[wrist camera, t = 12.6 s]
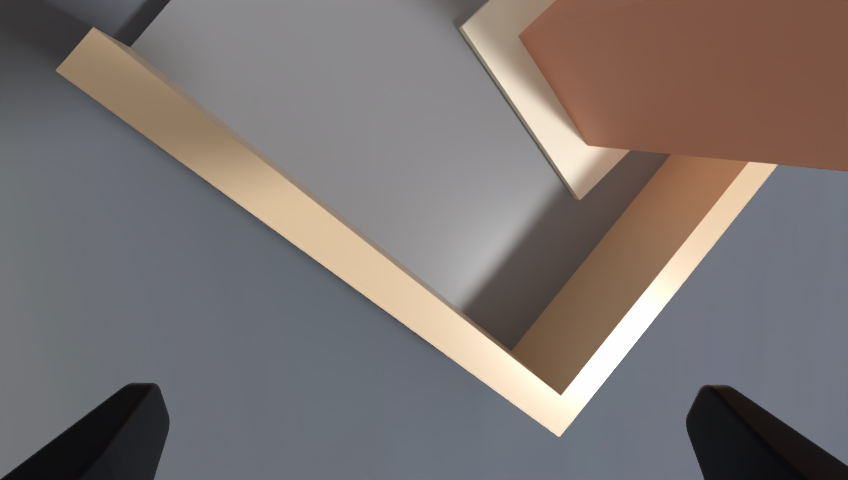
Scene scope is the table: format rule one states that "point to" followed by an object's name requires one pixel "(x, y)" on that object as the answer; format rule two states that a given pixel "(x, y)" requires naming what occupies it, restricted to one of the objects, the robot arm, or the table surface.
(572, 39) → the terracotta block
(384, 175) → the two-wall tray
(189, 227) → the table surface
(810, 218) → the table surface
